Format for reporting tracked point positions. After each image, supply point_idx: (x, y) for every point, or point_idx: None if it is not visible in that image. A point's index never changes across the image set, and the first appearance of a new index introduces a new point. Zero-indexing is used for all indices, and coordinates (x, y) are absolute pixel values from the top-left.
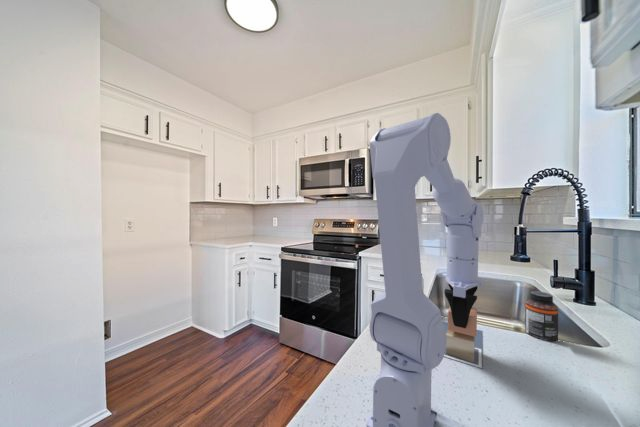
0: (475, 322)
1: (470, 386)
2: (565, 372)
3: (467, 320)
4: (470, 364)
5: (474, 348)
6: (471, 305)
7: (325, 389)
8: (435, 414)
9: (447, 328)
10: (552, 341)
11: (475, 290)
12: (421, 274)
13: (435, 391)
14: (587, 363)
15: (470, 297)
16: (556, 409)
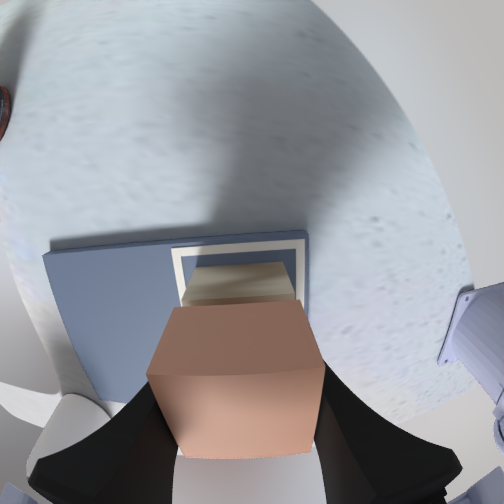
0: (314, 346)
1: (377, 254)
2: (128, 41)
3: (339, 380)
4: (303, 269)
5: (211, 272)
6: (416, 439)
7: (449, 400)
8: (474, 292)
9: (107, 347)
10: (2, 91)
11: (106, 491)
12: (28, 477)
13: (421, 308)
14: (57, 24)
15: (447, 482)
16: (346, 76)
